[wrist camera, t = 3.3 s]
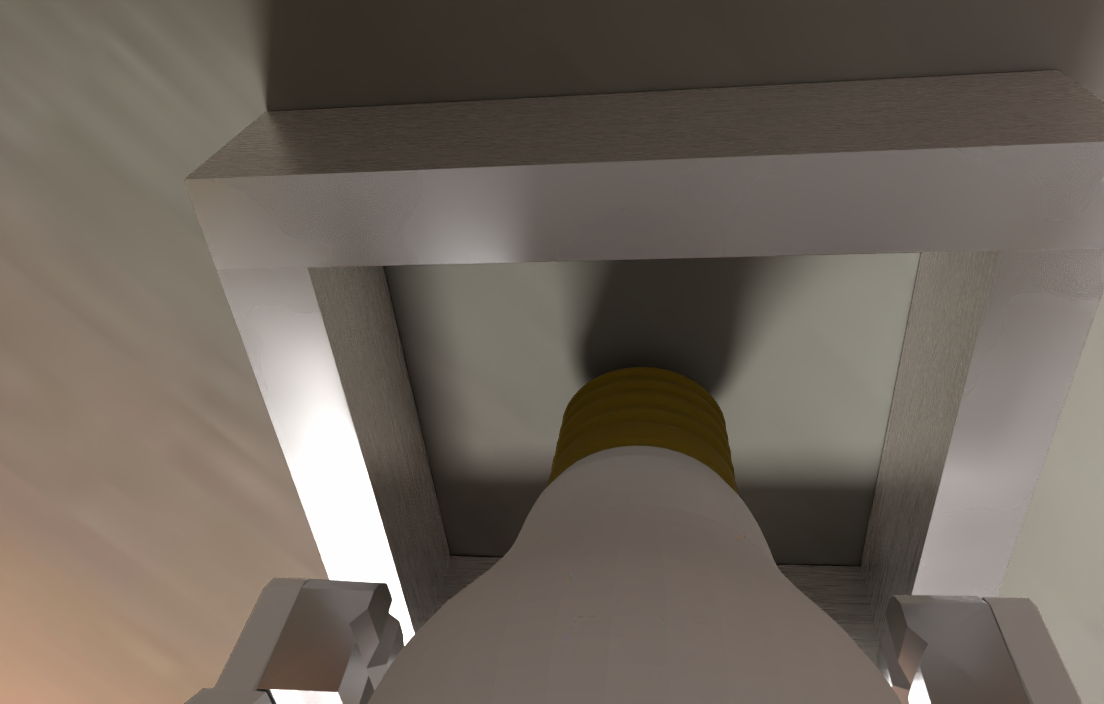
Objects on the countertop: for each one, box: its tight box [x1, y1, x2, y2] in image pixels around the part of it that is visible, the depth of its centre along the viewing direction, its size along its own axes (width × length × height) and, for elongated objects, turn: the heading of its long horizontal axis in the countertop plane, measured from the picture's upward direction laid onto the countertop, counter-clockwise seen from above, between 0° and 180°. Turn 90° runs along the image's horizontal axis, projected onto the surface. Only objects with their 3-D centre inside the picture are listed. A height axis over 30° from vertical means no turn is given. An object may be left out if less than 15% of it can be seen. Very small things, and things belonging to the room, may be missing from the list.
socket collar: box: [184, 70, 1104, 667], centre depth 13 cm, size 10×10×2 cm
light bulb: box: [368, 367, 902, 704], centre depth 10 cm, size 6×6×10 cm
